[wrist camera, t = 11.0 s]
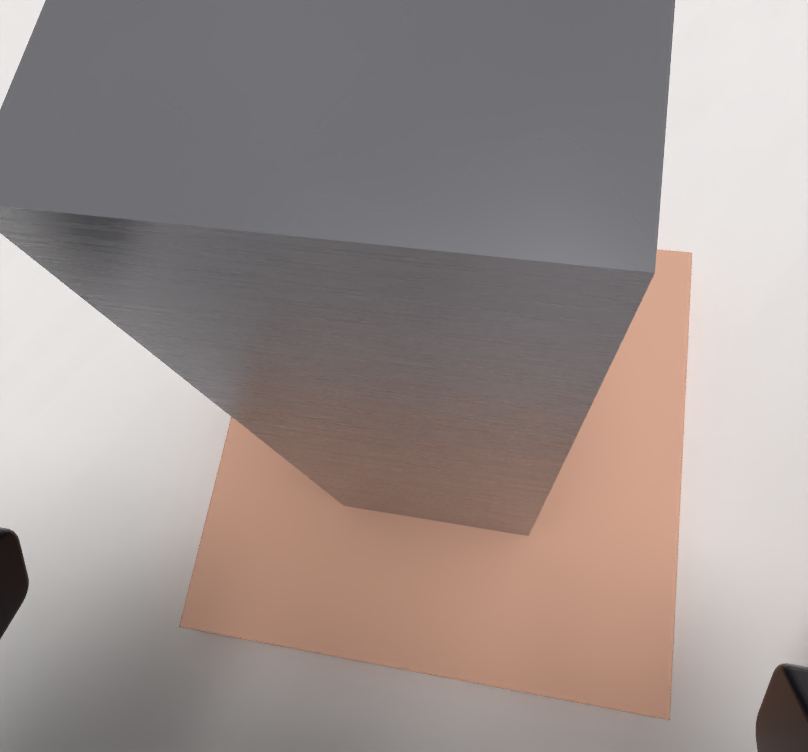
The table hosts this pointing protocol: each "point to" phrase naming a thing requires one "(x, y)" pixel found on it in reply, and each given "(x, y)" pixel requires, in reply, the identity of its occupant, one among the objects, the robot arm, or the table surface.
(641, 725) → the table surface
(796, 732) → the robot arm
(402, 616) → the mat
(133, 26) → the peg
